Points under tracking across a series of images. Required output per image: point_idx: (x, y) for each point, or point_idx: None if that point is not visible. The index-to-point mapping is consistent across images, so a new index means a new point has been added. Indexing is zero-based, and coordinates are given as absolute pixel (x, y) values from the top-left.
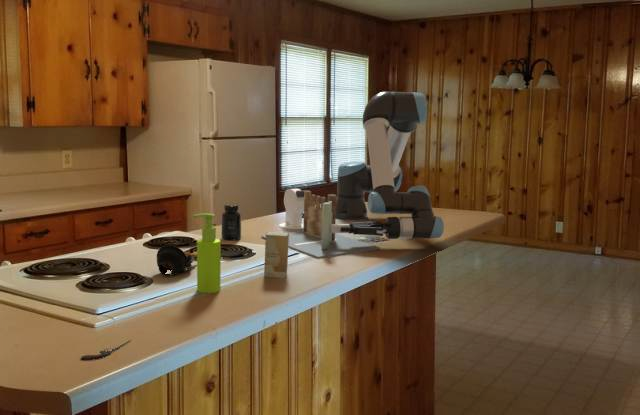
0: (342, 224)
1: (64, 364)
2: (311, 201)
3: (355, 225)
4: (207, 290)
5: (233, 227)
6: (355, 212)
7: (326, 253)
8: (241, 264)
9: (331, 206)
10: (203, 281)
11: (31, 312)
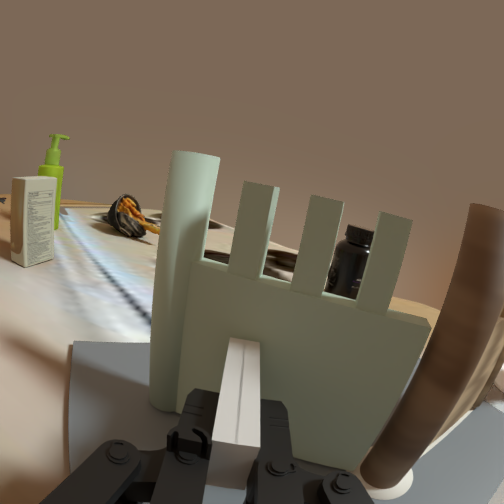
0: (247, 396)
1: (6, 197)
2: None
3: (197, 492)
4: None
5: (332, 270)
6: None
7: (98, 378)
8: (124, 261)
9: (388, 255)
10: None
11: (85, 203)
